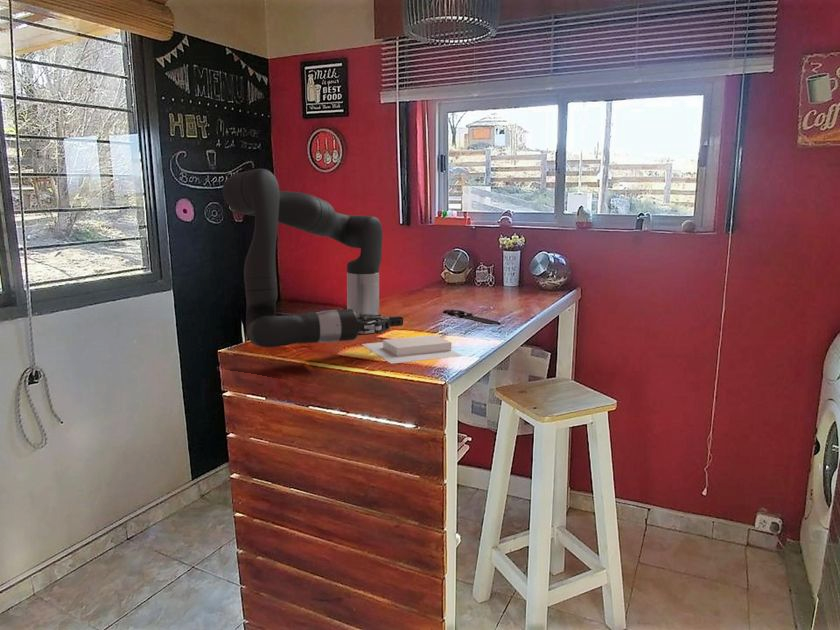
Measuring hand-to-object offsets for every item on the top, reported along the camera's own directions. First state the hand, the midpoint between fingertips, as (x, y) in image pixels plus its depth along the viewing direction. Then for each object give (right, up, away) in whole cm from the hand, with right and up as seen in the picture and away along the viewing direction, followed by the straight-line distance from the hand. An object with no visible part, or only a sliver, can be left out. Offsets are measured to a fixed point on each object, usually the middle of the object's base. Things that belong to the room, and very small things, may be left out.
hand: (401, 320), depth 150 cm
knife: (+22, 0, +48) cm, 53 cm away
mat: (+2, -8, +3) cm, 9 cm away
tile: (-3, -7, 0) cm, 7 cm away
